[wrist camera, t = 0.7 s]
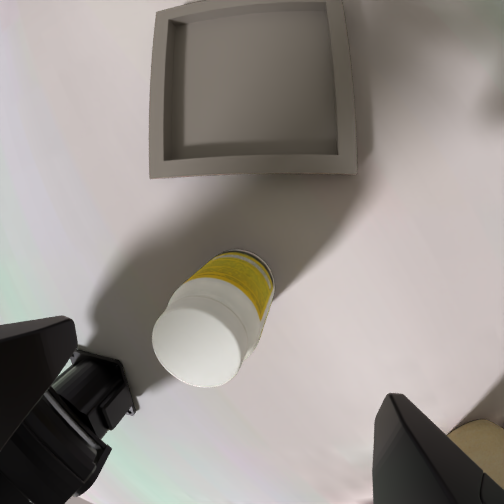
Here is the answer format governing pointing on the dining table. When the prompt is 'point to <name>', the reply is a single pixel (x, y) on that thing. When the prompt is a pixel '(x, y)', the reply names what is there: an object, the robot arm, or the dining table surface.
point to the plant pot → (483, 446)
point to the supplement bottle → (215, 319)
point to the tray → (251, 89)
